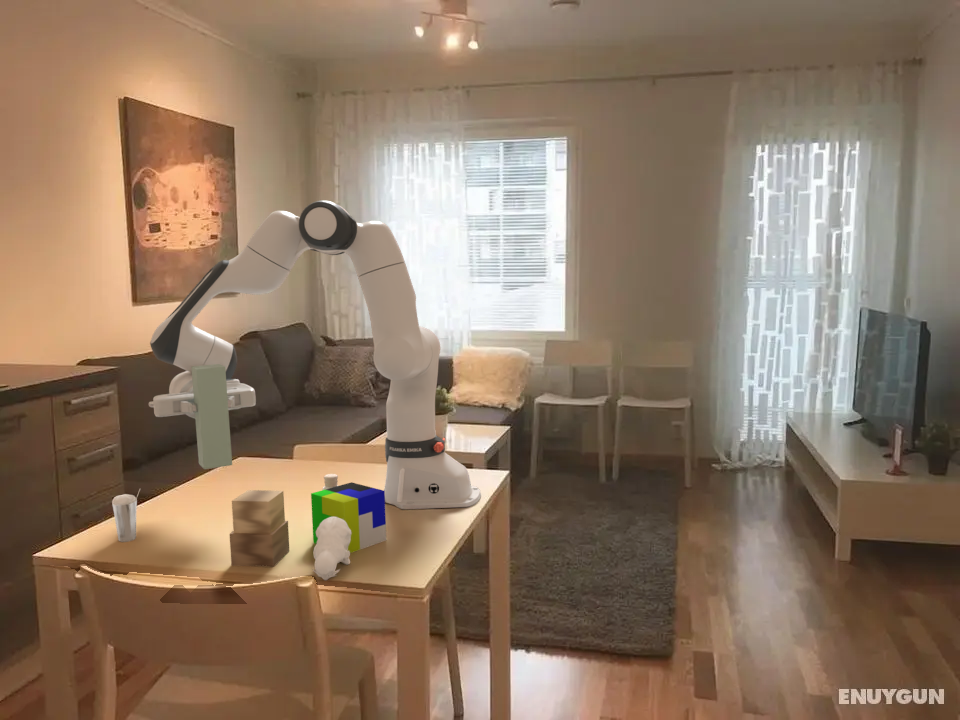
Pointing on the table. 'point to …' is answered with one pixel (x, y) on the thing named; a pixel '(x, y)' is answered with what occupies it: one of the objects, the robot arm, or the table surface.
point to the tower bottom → (259, 547)
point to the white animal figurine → (331, 546)
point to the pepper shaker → (330, 481)
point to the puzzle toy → (352, 512)
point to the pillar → (212, 416)
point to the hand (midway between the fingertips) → (212, 406)
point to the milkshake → (125, 516)
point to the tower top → (258, 511)
